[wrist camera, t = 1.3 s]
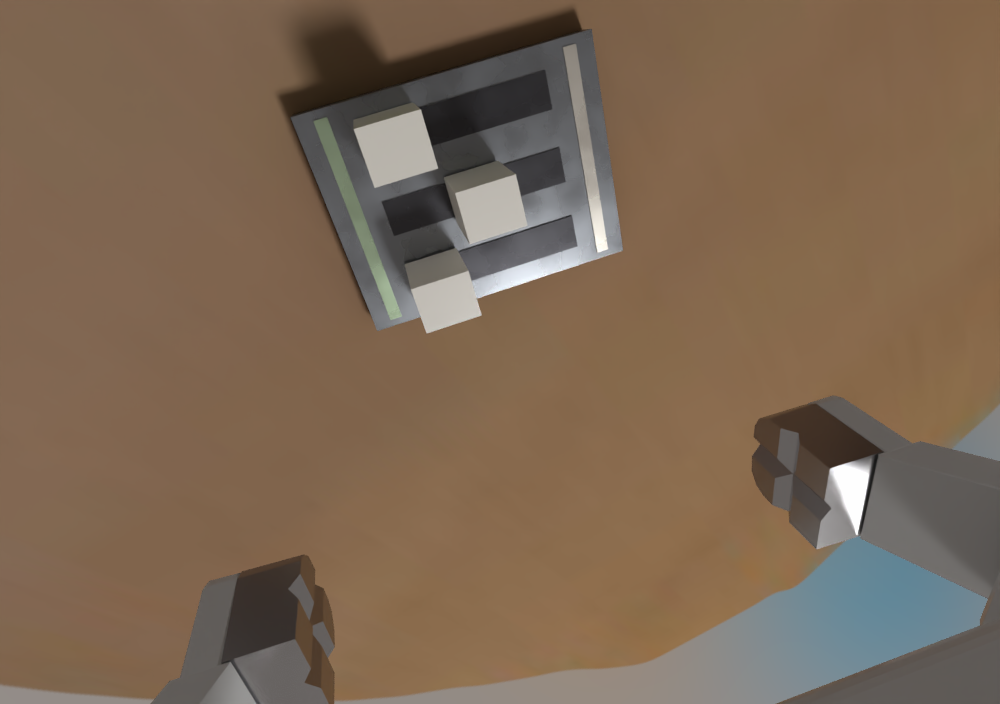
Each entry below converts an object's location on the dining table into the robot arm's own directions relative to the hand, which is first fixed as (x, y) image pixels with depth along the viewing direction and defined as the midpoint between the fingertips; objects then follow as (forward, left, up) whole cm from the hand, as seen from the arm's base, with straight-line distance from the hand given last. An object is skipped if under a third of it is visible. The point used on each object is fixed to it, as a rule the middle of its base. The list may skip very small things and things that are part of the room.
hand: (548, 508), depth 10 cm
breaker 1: (0, -3, -29) cm, 29 cm away
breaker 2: (0, +6, -28) cm, 29 cm away
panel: (-4, +2, -30) cm, 31 cm away
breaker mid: (-4, +2, -29) cm, 29 cm away
